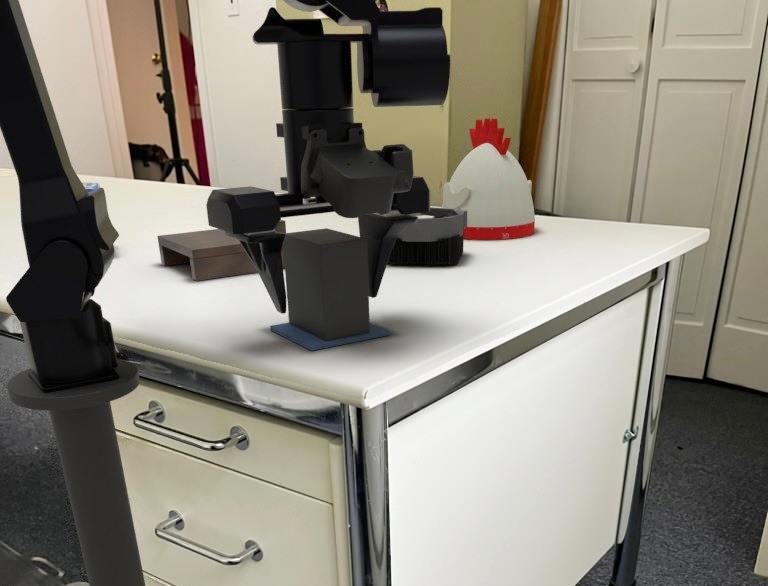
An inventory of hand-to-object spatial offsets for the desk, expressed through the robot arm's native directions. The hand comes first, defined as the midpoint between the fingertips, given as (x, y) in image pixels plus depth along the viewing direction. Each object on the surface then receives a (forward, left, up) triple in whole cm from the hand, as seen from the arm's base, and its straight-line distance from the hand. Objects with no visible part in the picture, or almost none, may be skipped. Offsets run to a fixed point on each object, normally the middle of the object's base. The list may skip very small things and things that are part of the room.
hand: (328, 304), depth 72 cm
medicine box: (-7, +53, -3) cm, 54 cm away
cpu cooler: (+26, +22, -3) cm, 34 cm away
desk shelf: (+4, +34, -2) cm, 34 cm away
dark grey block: (0, 0, -2) cm, 2 cm away
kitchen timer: (+45, +33, -3) cm, 56 cm away
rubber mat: (0, 0, -2) cm, 2 cm away
